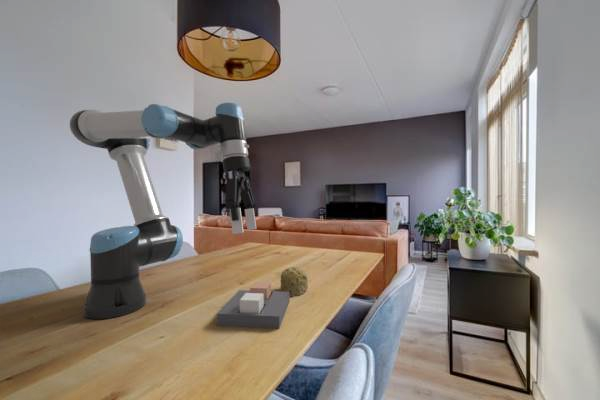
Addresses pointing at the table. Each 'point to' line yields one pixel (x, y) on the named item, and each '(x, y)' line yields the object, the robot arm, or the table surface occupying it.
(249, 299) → the key soft
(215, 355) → the table surface
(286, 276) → the rock
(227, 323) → the key panel
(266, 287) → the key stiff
